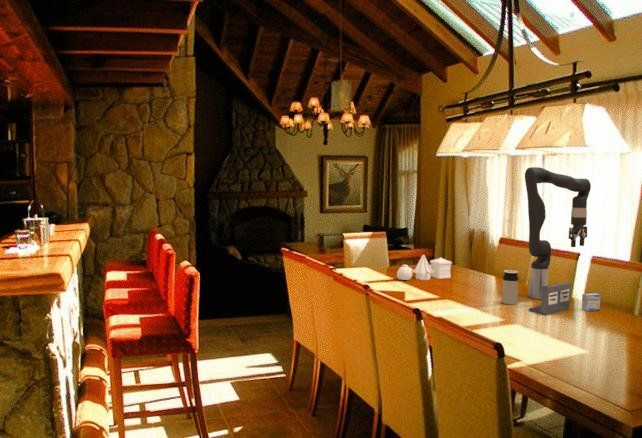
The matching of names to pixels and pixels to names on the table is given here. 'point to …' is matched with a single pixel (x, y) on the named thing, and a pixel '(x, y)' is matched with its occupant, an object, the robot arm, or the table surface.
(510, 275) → the travel mug
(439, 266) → the decorative object set
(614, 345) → the table surface
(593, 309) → the medicine box
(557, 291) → the label panel
